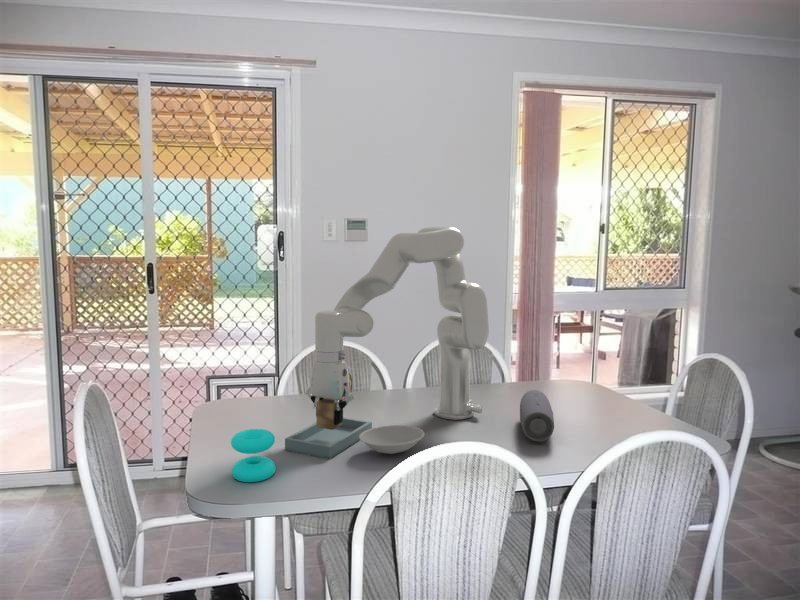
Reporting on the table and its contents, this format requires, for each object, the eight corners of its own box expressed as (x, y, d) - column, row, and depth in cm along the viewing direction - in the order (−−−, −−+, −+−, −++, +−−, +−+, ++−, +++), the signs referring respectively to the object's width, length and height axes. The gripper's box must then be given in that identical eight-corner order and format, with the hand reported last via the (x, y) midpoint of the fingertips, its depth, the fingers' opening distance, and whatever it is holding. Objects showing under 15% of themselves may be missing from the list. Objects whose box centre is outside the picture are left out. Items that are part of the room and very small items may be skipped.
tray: (371, 432, 167) (371, 422, 166) (330, 459, 147) (330, 447, 147) (330, 425, 173) (330, 415, 172) (285, 450, 153) (284, 438, 153)
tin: (340, 406, 192) (340, 381, 191) (331, 405, 193) (331, 380, 192) (353, 394, 207) (353, 370, 206) (344, 393, 207) (344, 370, 206)
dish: (372, 469, 141) (372, 449, 141) (350, 449, 154) (350, 431, 153) (435, 456, 149) (435, 437, 149) (409, 439, 162) (409, 421, 161)
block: (342, 424, 160) (342, 399, 160) (332, 429, 156) (332, 404, 155) (326, 421, 163) (326, 397, 162) (316, 427, 158) (316, 401, 157)
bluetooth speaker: (555, 447, 156) (556, 411, 155) (520, 444, 158) (521, 409, 157) (549, 420, 178) (550, 388, 177) (518, 418, 180) (519, 387, 179)
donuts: (282, 430, 139) (258, 444, 130) (283, 470, 140) (259, 487, 131) (247, 425, 143) (221, 438, 133) (248, 464, 144) (223, 480, 135)
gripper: (363, 357, 157) (363, 422, 159) (311, 351, 164) (311, 413, 166) (349, 362, 150) (349, 430, 152) (295, 355, 157) (295, 421, 159)
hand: (329, 421), depth 159 cm, fingers closed on block, 4 cm apart
